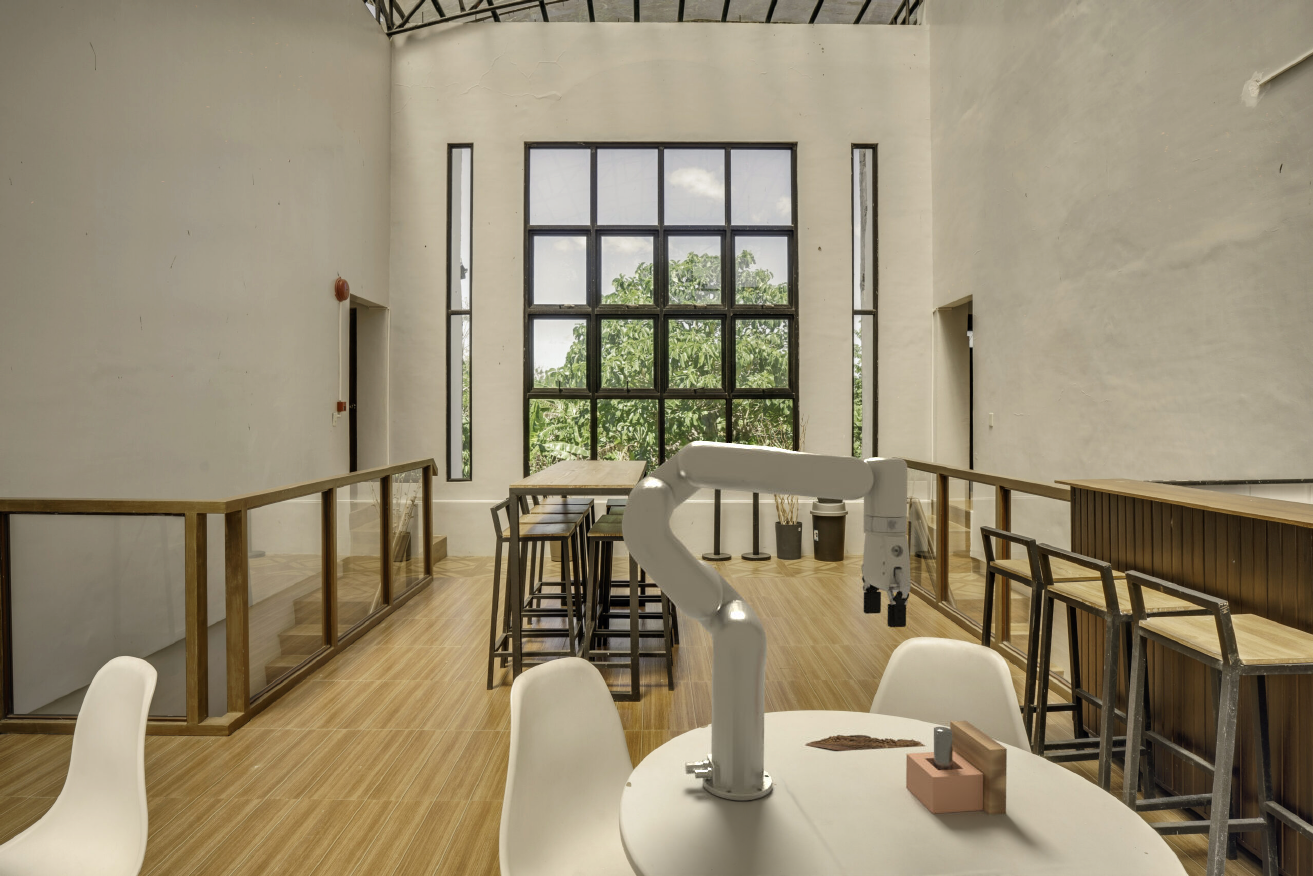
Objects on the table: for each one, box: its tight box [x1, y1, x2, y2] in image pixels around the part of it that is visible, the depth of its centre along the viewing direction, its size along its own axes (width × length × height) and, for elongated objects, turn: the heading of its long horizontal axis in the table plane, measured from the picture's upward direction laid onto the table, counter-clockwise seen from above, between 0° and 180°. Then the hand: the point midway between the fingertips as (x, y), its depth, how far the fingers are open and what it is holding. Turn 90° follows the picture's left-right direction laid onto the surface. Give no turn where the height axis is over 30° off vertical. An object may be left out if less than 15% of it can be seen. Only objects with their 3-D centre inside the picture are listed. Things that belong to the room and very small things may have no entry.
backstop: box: [949, 720, 1008, 816], centre depth 126 cm, size 3×12×11 cm, turn 8°
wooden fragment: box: [805, 734, 926, 752], centre depth 149 cm, size 26×11×1 cm, turn 79°
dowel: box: [933, 726, 953, 770], centre depth 126 cm, size 3×3×12 cm
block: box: [905, 751, 984, 814], centre depth 126 cm, size 9×9×6 cm
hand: (883, 619), depth 132 cm, fingers open, 9 cm apart
